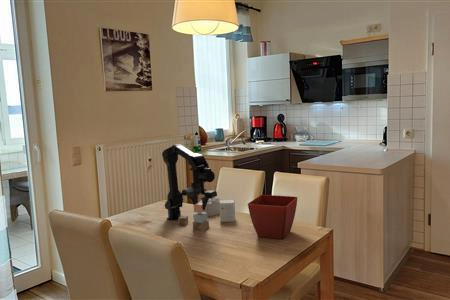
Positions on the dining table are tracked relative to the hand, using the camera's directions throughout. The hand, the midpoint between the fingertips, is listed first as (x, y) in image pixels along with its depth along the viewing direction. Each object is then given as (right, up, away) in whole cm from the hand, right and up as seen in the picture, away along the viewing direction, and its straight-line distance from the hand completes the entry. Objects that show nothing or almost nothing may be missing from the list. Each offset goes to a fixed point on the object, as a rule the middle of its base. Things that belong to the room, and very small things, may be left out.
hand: (200, 209), depth 203 cm
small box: (+15, -8, +13) cm, 21 cm away
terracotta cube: (0, -1, 0) cm, 1 cm away
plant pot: (+37, -10, -13) cm, 40 cm away
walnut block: (-9, -10, +10) cm, 17 cm away
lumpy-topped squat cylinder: (+5, -6, +29) cm, 30 cm away
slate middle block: (0, -6, +1) cm, 6 cm away
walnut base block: (+1, -10, +1) cm, 10 cm away
